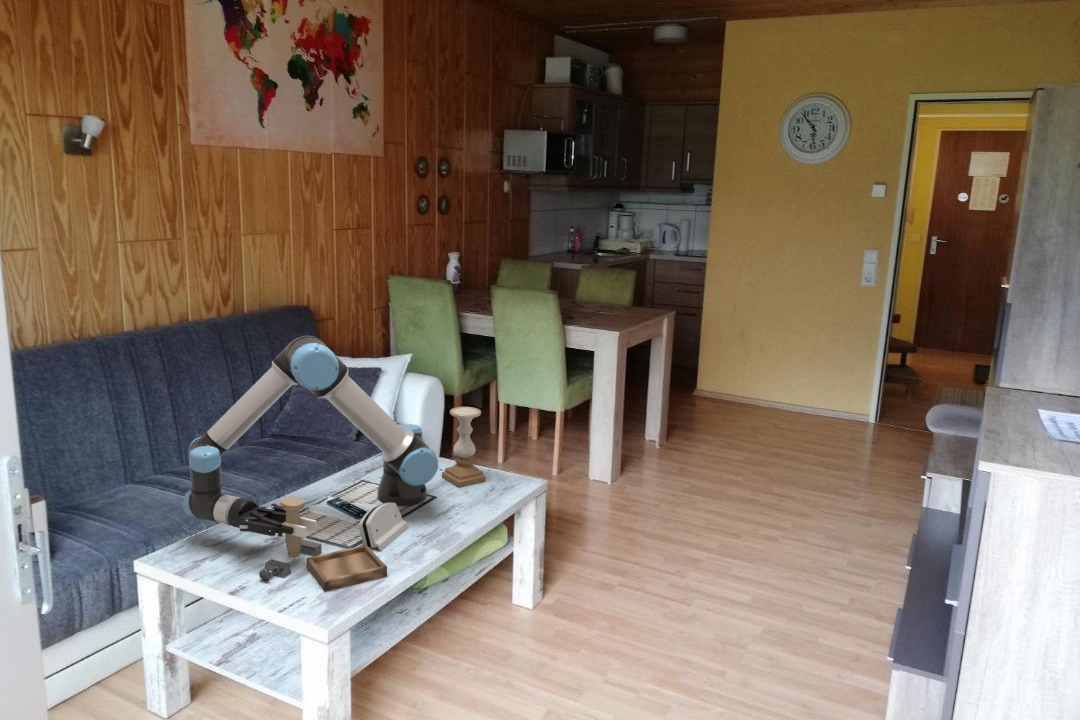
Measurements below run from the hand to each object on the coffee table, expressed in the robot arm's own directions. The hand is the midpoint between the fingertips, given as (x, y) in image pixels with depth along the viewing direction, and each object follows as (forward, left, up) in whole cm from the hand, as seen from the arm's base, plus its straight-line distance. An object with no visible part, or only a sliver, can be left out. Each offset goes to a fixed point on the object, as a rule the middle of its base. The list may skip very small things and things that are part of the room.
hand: (310, 529), depth 201 cm
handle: (+3, -4, -9) cm, 10 cm away
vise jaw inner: (-2, -8, -10) cm, 13 cm away
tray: (-7, +7, -10) cm, 14 cm away
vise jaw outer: (+10, 0, -10) cm, 14 cm away
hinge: (-23, -8, -11) cm, 26 cm away
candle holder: (-63, -35, -11) cm, 73 cm away
